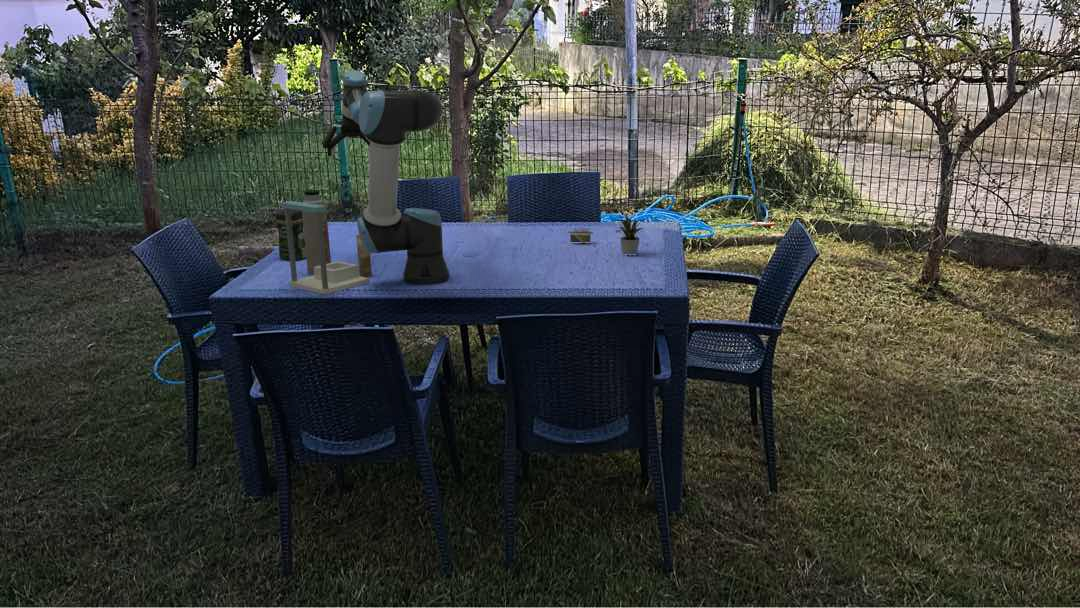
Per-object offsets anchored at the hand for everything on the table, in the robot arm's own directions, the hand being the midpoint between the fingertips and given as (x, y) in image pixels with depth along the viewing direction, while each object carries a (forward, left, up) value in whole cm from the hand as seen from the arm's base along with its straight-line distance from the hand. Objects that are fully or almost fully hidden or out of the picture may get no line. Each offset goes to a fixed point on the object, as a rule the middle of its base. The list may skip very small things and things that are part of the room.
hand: (351, 162), depth 282 cm
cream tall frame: (-26, +33, -35) cm, 55 cm away
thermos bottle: (-10, +25, -35) cm, 44 cm away
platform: (-56, -65, -35) cm, 93 cm away
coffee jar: (+16, +17, -35) cm, 42 cm away
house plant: (-81, -59, -35) cm, 106 cm away
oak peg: (-27, +19, -35) cm, 48 cm away
